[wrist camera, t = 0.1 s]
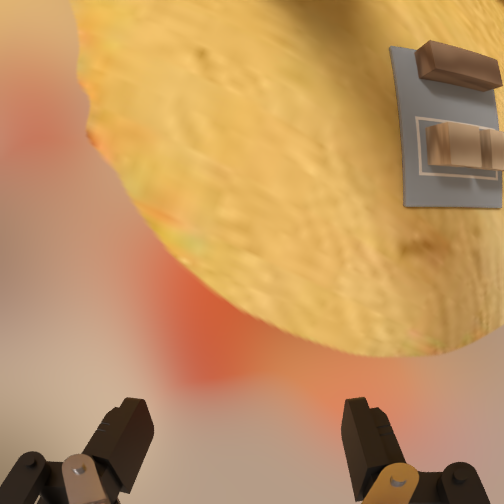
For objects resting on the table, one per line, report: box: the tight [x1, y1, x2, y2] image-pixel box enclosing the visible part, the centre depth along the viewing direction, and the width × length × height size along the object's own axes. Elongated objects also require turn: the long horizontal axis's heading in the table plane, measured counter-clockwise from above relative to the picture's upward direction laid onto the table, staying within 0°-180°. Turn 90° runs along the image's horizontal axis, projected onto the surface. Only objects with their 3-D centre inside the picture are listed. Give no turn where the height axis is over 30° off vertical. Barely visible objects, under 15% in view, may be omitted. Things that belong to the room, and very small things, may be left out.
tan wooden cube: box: [425, 122, 482, 167], centre depth 31 cm, size 5×5×6 cm
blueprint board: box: [389, 46, 502, 208], centre depth 33 cm, size 22×18×1 cm
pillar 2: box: [467, 129, 504, 171], centre depth 30 cm, size 5×5×6 cm
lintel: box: [414, 40, 503, 92], centre depth 29 cm, size 4×12×5 cm, turn 93°
